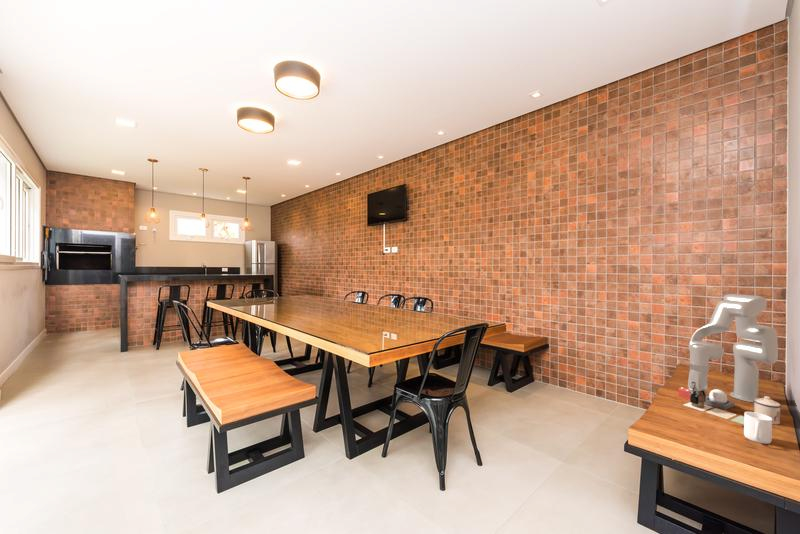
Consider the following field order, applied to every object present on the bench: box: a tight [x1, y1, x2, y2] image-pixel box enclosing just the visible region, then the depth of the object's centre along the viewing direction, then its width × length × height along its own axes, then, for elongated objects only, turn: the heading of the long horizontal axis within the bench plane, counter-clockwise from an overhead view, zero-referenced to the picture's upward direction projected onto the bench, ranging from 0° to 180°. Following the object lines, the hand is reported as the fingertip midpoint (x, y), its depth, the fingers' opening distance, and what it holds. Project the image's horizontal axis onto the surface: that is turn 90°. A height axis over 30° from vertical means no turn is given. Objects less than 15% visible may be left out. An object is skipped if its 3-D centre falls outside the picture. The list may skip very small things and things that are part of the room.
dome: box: [708, 388, 728, 404], centre depth 182 cm, size 7×7×7 cm
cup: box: [743, 411, 773, 445], centre depth 147 cm, size 8×12×10 cm
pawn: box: [691, 389, 705, 408], centre depth 179 cm, size 5×5×9 cm
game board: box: [683, 401, 744, 428], centre depth 171 cm, size 13×30×1 cm, turn 27°
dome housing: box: [704, 395, 736, 410], centre depth 182 cm, size 10×10×3 cm
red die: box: [678, 386, 690, 400], centre depth 192 cm, size 5×5×6 cm
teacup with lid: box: [753, 395, 782, 426], centre depth 167 cm, size 12×9×12 cm
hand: (697, 401), depth 179 cm, fingers open, 6 cm apart
